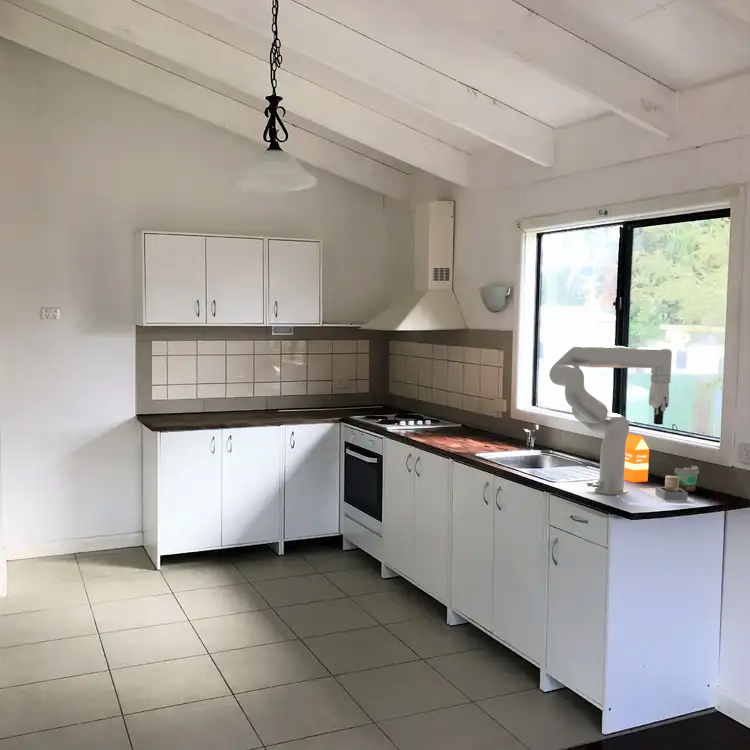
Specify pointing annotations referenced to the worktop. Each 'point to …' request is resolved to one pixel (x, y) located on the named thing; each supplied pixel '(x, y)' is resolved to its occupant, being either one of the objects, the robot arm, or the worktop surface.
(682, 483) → the food container
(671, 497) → the grey square tray
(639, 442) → the orange juice
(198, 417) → the worktop surface
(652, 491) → the board
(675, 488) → the plug
